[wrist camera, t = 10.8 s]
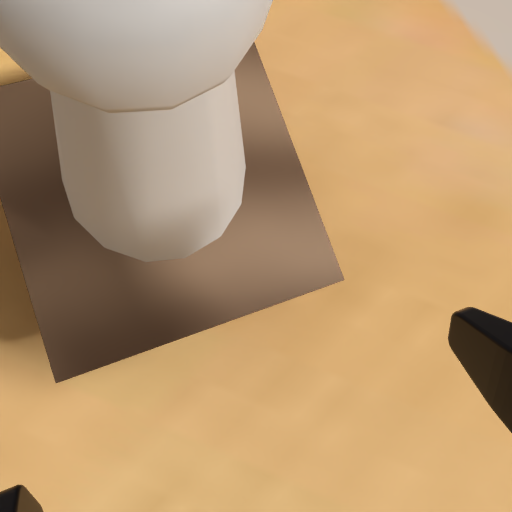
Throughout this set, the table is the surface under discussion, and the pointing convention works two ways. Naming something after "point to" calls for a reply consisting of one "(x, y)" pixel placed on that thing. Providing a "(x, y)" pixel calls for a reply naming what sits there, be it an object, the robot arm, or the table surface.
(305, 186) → the small stand
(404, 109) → the table surface
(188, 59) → the salt shaker
